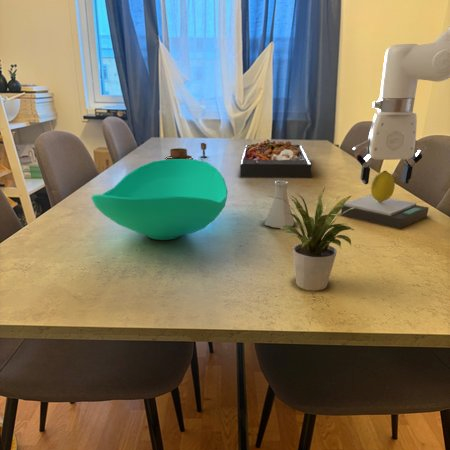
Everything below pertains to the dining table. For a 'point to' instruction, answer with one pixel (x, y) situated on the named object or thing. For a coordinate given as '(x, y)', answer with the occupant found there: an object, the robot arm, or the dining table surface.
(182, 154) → the place setting
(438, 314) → the dining table surface
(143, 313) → the dining table surface
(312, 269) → the house plant
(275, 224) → the flask
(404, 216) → the scale
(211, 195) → the table top decor
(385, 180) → the lemon
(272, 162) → the food platter
